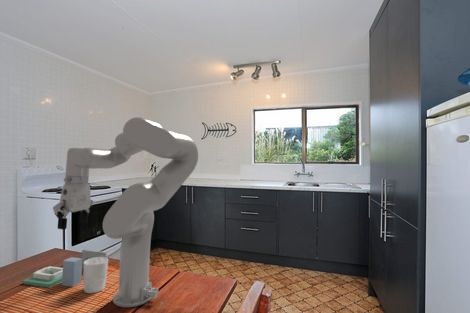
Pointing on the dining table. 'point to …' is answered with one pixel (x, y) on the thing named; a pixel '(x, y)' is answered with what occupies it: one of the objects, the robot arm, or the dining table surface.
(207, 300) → the dining table surface
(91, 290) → the white cup
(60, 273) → the header board
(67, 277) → the plug
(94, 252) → the cassette
